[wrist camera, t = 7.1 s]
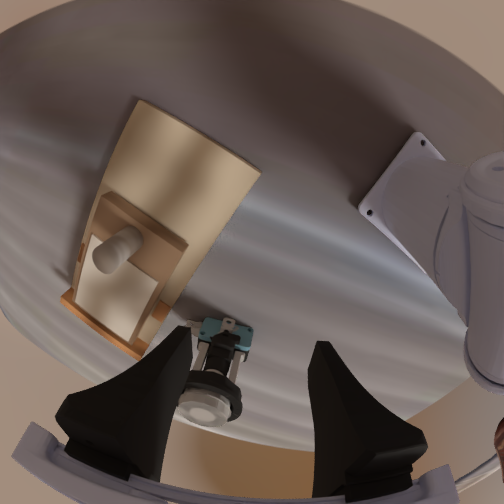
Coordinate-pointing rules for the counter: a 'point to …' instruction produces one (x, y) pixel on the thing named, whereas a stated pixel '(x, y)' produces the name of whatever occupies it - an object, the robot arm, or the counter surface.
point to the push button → (215, 373)
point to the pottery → (500, 444)
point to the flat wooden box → (169, 200)
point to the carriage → (124, 266)
